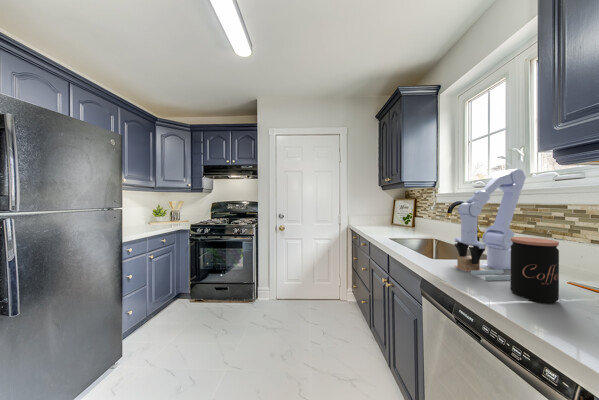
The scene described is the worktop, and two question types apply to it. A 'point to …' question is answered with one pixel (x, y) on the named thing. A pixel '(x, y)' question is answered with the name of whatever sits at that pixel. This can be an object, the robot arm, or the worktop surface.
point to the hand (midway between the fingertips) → (469, 261)
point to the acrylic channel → (490, 274)
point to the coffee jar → (535, 269)
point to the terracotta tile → (464, 269)
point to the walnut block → (467, 263)
